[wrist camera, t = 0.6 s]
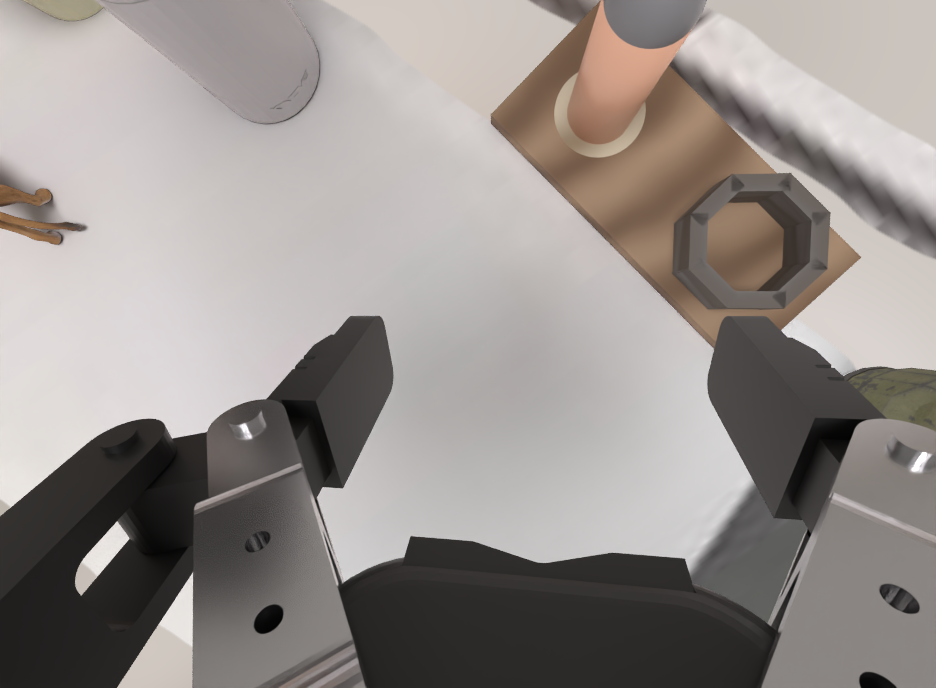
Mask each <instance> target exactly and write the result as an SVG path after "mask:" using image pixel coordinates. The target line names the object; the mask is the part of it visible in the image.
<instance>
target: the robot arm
mask: <svg viewBox="0 0 936 688" xmlns="http://www.w3.org/2000/svg"><path fill="white" fill-rule="evenodd" d="M95 1H96V2H97V3H99V4H100V5H101V6H102V7H104V8H105V9H106V10H107V11H109V12H110V13H111V14H112V15H114V16H115V17H116V18H117V19H119V20H120V21H121V22H122V23H124V24H125V25H126V26H127V27H129V28H130V29H131V30H133V31H134V32H135V33H136V34H138V35H139V36H140V37H141V38H143V39H144V40H145V41H146V42H148V43H149V44H150V45H151V46H153V47H154V48H155V49H156V50H158V51H159V52H160V53H161V54H163V55H164V56H165V57H166V58H168V59H169V60H170V61H172V62H173V63H174V64H175V65H177V66H178V67H179V68H180V69H182V70H183V71H184V72H185V73H187V74H188V75H189V76H190V77H192V78H193V79H194V80H195V81H197V82H198V83H199V84H200V85H202V86H203V87H204V88H205V89H206V90H208V91H209V92H210V93H211V94H213V95H214V96H215V97H217V98H218V99H219V100H220V101H222V102H223V103H224V104H225V105H227V106H228V107H229V108H230V109H232V110H233V111H234V112H236V113H237V114H239V115H240V116H242V117H243V118H245V119H248V120H250V121H253V122H257V123H264V124H266V123H277V122H280V121H283V120H286V119H288V118H290V117H292V116H293V115H295V114H297V113H298V112H299V111H300V110H301V109H302V108H303V107H304V106H305V105H306V104H307V102H308V101H309V100H310V98H311V97H312V95H313V93H314V90H315V88H316V86H317V81H318V77H319V57H318V51H317V49H316V46H315V44H314V41H313V39H312V38H311V36H310V35H309V33H308V32H307V30H306V28H305V27H304V25H303V24H302V22H301V21H300V19H299V18H298V16H297V15H296V13H295V12H294V10H293V8H292V7H291V5H290V4H289V2H288V0H95ZM707 384H708V394H709V398H710V401H711V403H712V405H713V406H714V408H715V410H716V412H717V414H718V416H719V418H720V419H721V421H722V423H723V425H724V427H725V429H726V431H727V432H728V434H729V436H730V438H731V440H732V442H733V444H734V445H735V447H736V449H737V451H738V453H739V455H740V456H741V458H742V460H743V462H744V464H745V466H746V468H747V469H748V471H749V473H750V475H751V477H752V479H753V481H754V482H755V484H756V486H757V488H758V490H759V492H760V494H761V495H762V497H763V499H764V501H765V503H766V505H767V507H768V508H769V510H770V512H771V514H772V516H773V518H781V519H797V520H803V521H804V523H805V525H806V526H807V530H806V532H805V534H804V537H803V539H802V541H801V543H800V546H799V548H798V551H797V553H796V556H795V558H794V561H793V563H792V565H791V568H790V570H789V573H788V575H787V578H786V580H785V583H784V585H783V588H782V590H781V593H780V595H779V598H778V600H777V603H776V605H775V607H774V610H773V612H772V615H771V617H770V619H769V622H768V624H767V623H766V622H765V621H763V620H762V619H761V618H759V617H758V616H756V615H755V614H753V613H752V612H750V611H749V610H747V609H745V608H744V607H742V606H741V605H739V604H737V603H735V602H733V601H732V600H730V599H728V598H726V597H724V596H722V595H720V594H718V593H716V592H713V591H711V590H709V589H706V588H704V587H701V586H698V585H695V584H692V581H691V578H690V574H689V571H688V568H687V565H686V561H685V559H682V558H670V557H658V556H646V555H633V554H621V553H608V554H601V555H595V556H589V557H582V558H576V559H570V560H564V561H557V562H551V563H537V562H533V561H530V560H527V559H524V558H521V557H518V556H515V555H512V554H509V553H506V552H503V551H500V550H497V549H494V548H491V547H488V546H485V545H482V544H479V543H476V542H473V541H462V540H450V539H437V538H425V537H413V536H411V537H410V540H409V544H408V547H407V550H406V554H405V557H404V558H399V559H394V560H391V561H387V562H384V563H381V564H378V565H376V566H373V567H371V568H368V569H366V570H364V571H362V572H360V573H359V574H357V575H355V576H353V577H351V578H350V579H348V580H347V581H345V582H344V580H343V577H342V574H341V571H340V568H339V564H338V561H337V558H336V555H335V552H334V549H333V545H332V542H331V539H330V536H329V533H328V530H327V527H326V523H325V520H324V517H323V514H322V511H321V508H320V505H319V502H318V499H317V496H318V495H319V493H320V491H321V489H322V487H331V488H343V487H344V485H345V483H346V481H347V479H348V477H349V475H350V473H351V471H352V469H353V467H354V465H355V463H356V461H357V459H358V457H359V455H360V453H361V451H362V449H363V447H364V445H365V443H366V441H367V439H368V437H369V435H370V433H371V430H372V428H373V426H374V424H375V422H376V420H377V418H378V416H379V414H380V412H381V410H382V408H383V406H384V404H385V402H386V400H387V398H388V396H389V394H390V392H391V389H392V385H393V366H392V361H391V356H390V351H389V345H388V340H387V335H386V330H385V325H384V322H383V319H382V318H381V317H380V316H350V317H349V318H348V319H347V320H346V321H345V323H344V324H343V325H342V326H341V327H340V329H339V330H338V331H337V332H336V333H335V335H330V336H328V337H326V338H325V339H323V340H321V341H320V342H318V343H317V344H315V345H314V346H313V347H312V348H311V349H310V350H309V351H308V353H307V354H306V355H305V356H304V359H301V360H300V362H299V363H298V364H297V365H296V366H295V369H293V370H292V371H291V372H290V373H289V374H288V375H287V376H286V378H285V379H284V380H283V381H282V382H281V383H280V384H279V385H278V387H277V388H276V389H275V390H274V391H273V392H272V393H271V395H270V396H269V397H268V398H267V399H266V400H255V401H250V402H246V403H243V404H241V405H238V406H236V407H233V408H231V409H230V410H228V411H226V412H225V413H223V414H222V415H220V416H219V417H218V418H217V419H216V420H215V421H214V422H213V423H212V424H211V425H210V427H209V429H208V431H207V432H206V433H200V434H195V435H189V436H184V437H178V438H173V439H172V438H171V436H170V434H169V432H168V430H167V428H166V427H165V425H164V423H163V422H161V421H159V420H156V419H140V420H135V421H131V422H127V423H124V424H121V425H119V426H116V427H114V428H112V429H110V430H107V431H106V432H104V433H102V434H100V435H99V436H97V437H96V438H94V439H93V440H91V441H90V442H89V443H87V444H86V445H85V446H84V447H83V448H81V449H80V450H79V451H78V452H77V453H75V454H74V455H73V456H72V457H71V458H70V459H68V460H67V461H66V462H65V463H64V464H62V465H61V466H60V467H59V468H58V469H56V470H55V471H54V472H53V473H52V474H50V475H49V476H48V477H47V478H46V479H44V480H43V481H42V482H41V483H40V484H38V485H37V486H36V487H35V488H34V489H33V490H31V491H30V492H29V493H28V494H27V495H25V496H24V497H23V498H22V499H21V500H19V501H18V502H17V503H16V504H15V505H13V506H12V507H11V508H10V509H9V510H7V511H6V512H5V513H4V514H3V515H1V516H0V688H117V687H118V685H119V684H120V682H121V680H122V679H123V678H124V676H125V674H126V673H127V671H128V670H129V668H130V667H131V665H132V664H133V662H134V661H135V659H136V658H137V656H138V655H139V653H140V652H141V650H142V649H143V647H144V646H145V644H146V643H147V641H148V639H149V638H150V636H151V635H152V633H153V632H154V630H155V629H156V627H157V626H158V624H159V623H160V621H161V620H162V618H163V617H164V615H165V614H166V612H167V611H168V609H169V608H170V606H171V604H172V603H173V601H174V600H175V598H176V597H177V595H178V594H179V592H180V591H181V589H182V588H183V586H184V585H185V583H186V582H187V580H188V579H189V577H190V576H191V574H192V573H193V686H192V687H193V688H936V431H933V430H931V429H928V428H926V427H923V426H920V425H916V424H913V423H909V422H905V421H900V420H893V419H887V418H886V417H885V416H884V415H883V414H882V413H881V412H880V411H879V410H878V409H877V408H876V407H874V406H873V405H872V404H871V403H870V402H869V401H868V400H867V399H866V398H865V397H864V396H863V395H862V394H861V393H860V392H859V391H858V390H857V389H856V388H855V387H854V386H853V385H852V384H850V383H849V382H848V381H844V377H843V376H842V375H841V374H840V373H839V372H838V371H837V370H836V369H835V368H831V364H830V363H829V362H828V361H826V360H825V359H824V358H823V357H822V356H821V355H820V354H819V353H818V352H817V351H816V350H814V349H812V348H810V347H809V346H807V345H805V344H803V343H801V342H799V341H797V340H795V339H793V338H787V337H786V336H785V335H784V334H783V332H782V331H781V330H780V329H779V328H778V327H777V326H776V325H775V324H774V323H773V322H772V321H771V320H770V319H769V318H768V317H766V316H726V317H725V318H724V319H723V320H722V322H721V325H720V328H719V332H718V336H717V340H716V344H715V349H714V353H713V357H712V361H711V365H710V369H709V374H708V383H707ZM117 521H118V522H119V524H120V525H121V527H122V528H123V529H124V531H125V532H126V534H127V535H128V536H129V538H130V539H129V540H128V541H127V543H126V544H125V545H124V546H123V547H122V549H121V550H120V551H119V552H118V553H117V554H116V556H115V557H114V558H113V559H112V560H111V562H110V563H109V564H108V565H107V566H106V567H105V569H104V570H103V571H102V572H101V573H100V575H99V576H98V577H97V578H96V579H95V580H94V582H93V583H92V584H91V585H90V586H89V588H88V589H87V590H86V591H85V592H84V593H83V595H82V596H81V595H80V594H79V593H78V591H77V590H76V587H75V576H76V572H77V569H78V567H79V565H80V563H81V561H82V560H83V558H84V557H85V556H86V555H87V554H88V553H89V551H90V550H91V549H92V548H93V547H94V546H95V545H96V544H97V543H98V542H99V540H100V539H101V538H102V537H103V536H104V535H105V534H106V533H107V532H108V531H109V529H110V528H111V527H112V526H113V525H114V524H115V523H116V522H117Z"/></svg>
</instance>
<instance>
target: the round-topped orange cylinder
mask: <svg viewBox="0 0 936 688" xmlns="http://www.w3.org/2000/svg"><path fill="white" fill-rule="evenodd" d="M706 1H707V0H601V2H600V6H599V9H598V12H597V15H596V18H595V21H594V25H593V28H592V31H591V34H590V37H589V40H588V44H587V47H586V50H585V53H584V56H583V59H582V63H581V66H580V69H579V72H578V75H577V78H576V82H575V85H574V88H573V91H572V94H571V98H570V101H569V104H568V109H567V118H568V122H569V125H570V127H571V129H572V131H573V132H574V134H575V135H576V136H577V137H579V138H580V139H581V140H583V141H585V142H587V143H590V144H606V143H609V142H612V141H614V140H616V139H617V138H619V137H620V136H621V135H622V134H623V133H624V132H625V131H626V129H627V128H628V126H629V125H630V123H631V122H632V120H633V119H634V117H635V116H636V114H637V112H638V111H639V109H640V108H641V106H642V105H643V103H644V102H645V100H646V99H647V97H648V96H649V94H650V93H651V91H652V90H653V88H654V87H655V85H656V84H657V82H658V81H659V79H660V78H661V76H662V74H663V73H664V71H665V70H666V68H667V67H668V65H669V64H670V62H671V61H672V59H673V58H674V56H675V55H676V53H677V52H678V50H679V49H680V47H681V46H682V44H683V43H684V41H685V40H686V38H687V36H688V35H689V33H690V32H691V30H692V29H693V27H694V26H695V24H696V23H697V21H698V19H699V18H700V16H701V14H702V12H703V9H704V7H705V4H706Z"/></svg>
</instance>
